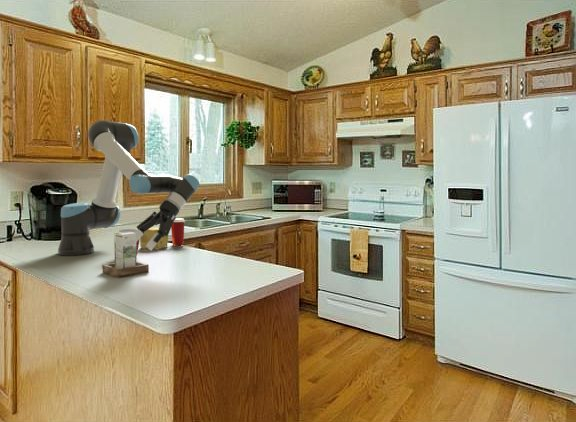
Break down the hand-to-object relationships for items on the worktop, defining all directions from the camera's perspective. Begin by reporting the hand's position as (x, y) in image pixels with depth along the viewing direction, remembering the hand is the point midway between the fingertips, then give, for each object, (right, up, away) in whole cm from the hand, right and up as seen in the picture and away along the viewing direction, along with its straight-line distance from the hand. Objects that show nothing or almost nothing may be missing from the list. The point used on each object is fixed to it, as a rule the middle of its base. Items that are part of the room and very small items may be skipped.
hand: (139, 246), depth 154 cm
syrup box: (-4, -9, -3) cm, 10 cm away
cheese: (-11, -5, +51) cm, 53 cm away
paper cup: (-2, -5, +60) cm, 60 cm away
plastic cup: (-14, -7, +28) cm, 32 cm away
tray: (-4, -10, -3) cm, 11 cm away
